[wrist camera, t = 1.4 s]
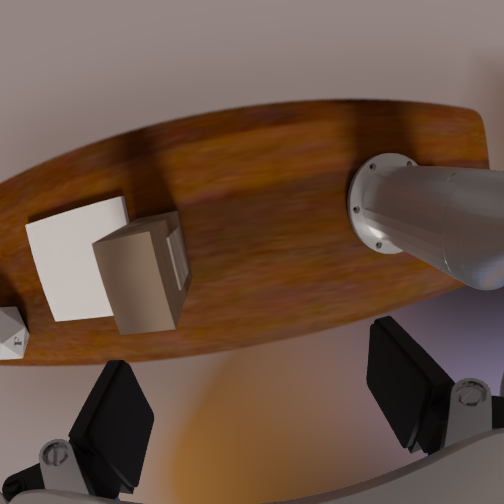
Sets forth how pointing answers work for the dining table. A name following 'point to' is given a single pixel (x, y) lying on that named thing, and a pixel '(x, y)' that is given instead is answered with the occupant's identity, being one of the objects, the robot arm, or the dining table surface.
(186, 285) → the walnut block
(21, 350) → the die
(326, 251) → the dining table surface
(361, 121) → the dining table surface
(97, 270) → the board
